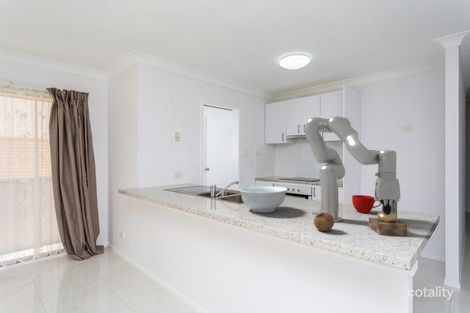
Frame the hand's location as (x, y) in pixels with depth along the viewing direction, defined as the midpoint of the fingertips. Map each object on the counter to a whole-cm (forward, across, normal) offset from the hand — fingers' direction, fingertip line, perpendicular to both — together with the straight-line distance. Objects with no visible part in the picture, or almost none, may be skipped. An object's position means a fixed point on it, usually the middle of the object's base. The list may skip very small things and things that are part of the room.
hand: (386, 213), depth 123 cm
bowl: (+9, -60, +40) cm, 73 cm away
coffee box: (+9, +12, +24) cm, 28 cm away
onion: (+9, -30, -2) cm, 31 cm away
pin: (+8, 0, 0) cm, 8 cm away
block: (+9, 0, 0) cm, 9 cm away
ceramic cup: (+9, +6, +41) cm, 42 cm away
